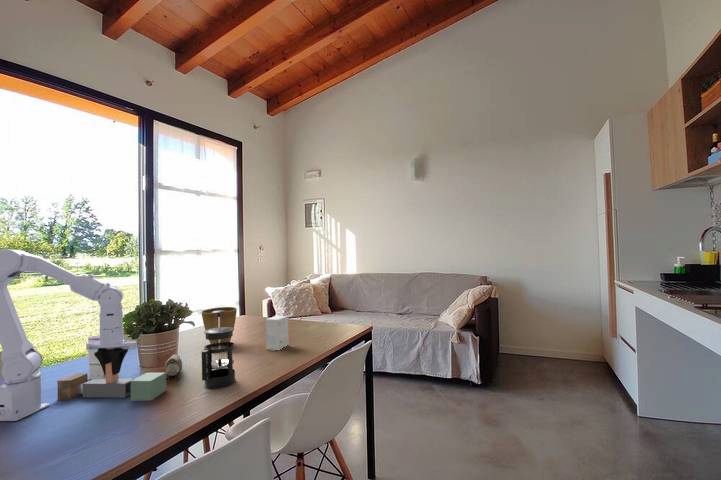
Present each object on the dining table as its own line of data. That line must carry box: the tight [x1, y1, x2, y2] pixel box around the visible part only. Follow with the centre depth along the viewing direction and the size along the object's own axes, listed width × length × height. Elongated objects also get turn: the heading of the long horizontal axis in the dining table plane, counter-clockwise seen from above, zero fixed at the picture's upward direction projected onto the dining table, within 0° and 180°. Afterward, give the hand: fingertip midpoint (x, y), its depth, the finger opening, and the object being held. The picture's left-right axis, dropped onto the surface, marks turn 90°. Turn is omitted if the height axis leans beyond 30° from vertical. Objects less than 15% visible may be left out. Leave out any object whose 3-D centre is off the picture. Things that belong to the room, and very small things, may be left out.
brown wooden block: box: [56, 372, 89, 401], centre depth 108 cm, size 4×6×6 cm, turn 176°
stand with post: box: [82, 362, 135, 399], centre depth 107 cm, size 13×4×9 cm, turn 86°
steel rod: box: [76, 382, 86, 395], centre depth 107 cm, size 13×2×2 cm, turn 86°
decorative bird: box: [163, 353, 183, 383], centre depth 123 cm, size 5×16×8 cm, turn 23°
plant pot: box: [200, 306, 238, 348], centre depth 161 cm, size 15×15×16 cm
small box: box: [264, 315, 290, 351], centre depth 154 cm, size 8×6×13 cm
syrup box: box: [87, 333, 106, 380], centre depth 124 cm, size 6×6×14 cm
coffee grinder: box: [201, 310, 237, 390], centre depth 114 cm, size 12×9×23 cm
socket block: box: [130, 371, 167, 401], centre depth 106 cm, size 6×7×6 cm
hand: (112, 373), depth 107 cm, fingers closed on stand with post, 2 cm apart
